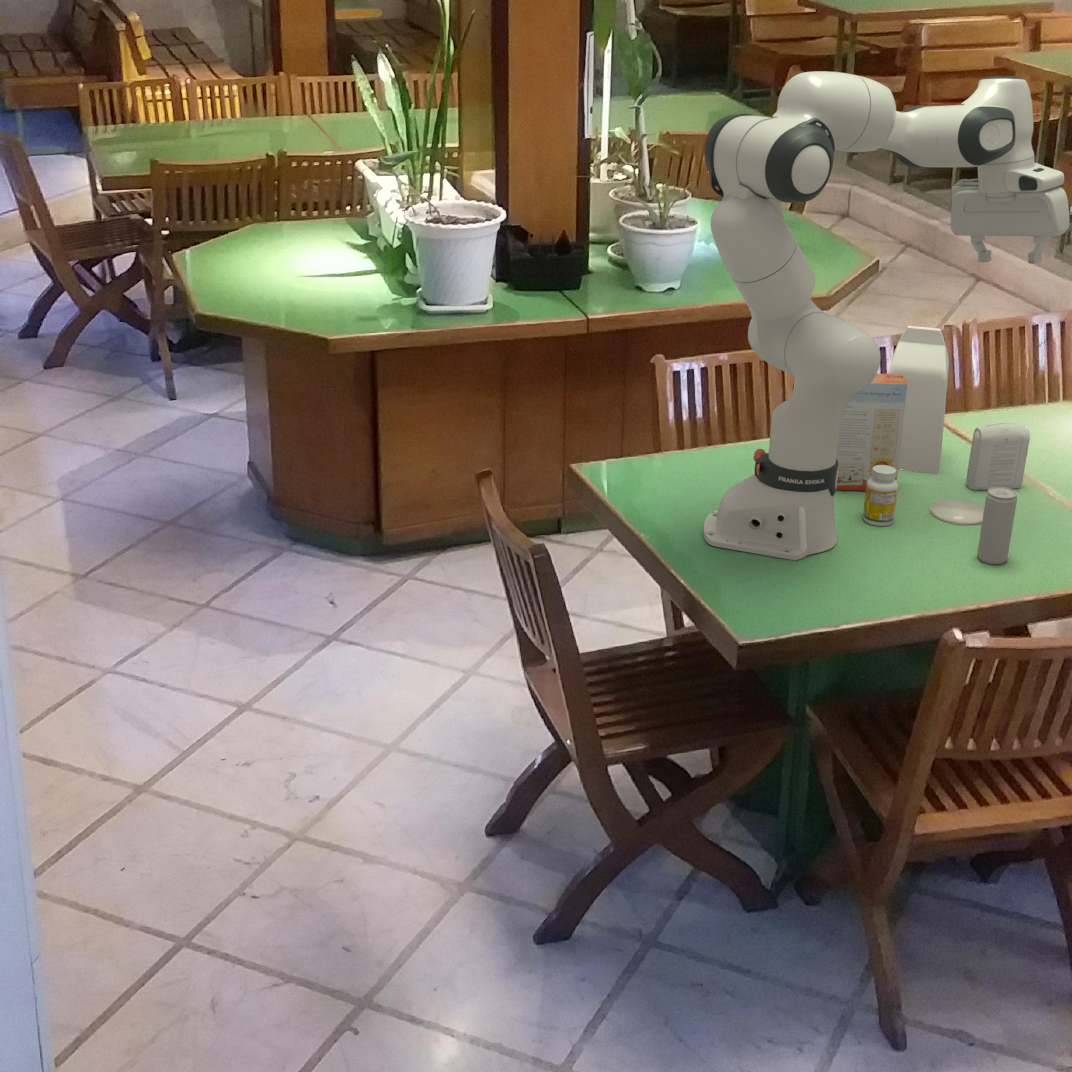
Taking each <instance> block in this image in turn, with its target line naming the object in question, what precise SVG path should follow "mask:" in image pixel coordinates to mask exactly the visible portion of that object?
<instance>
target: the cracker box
mask: <svg viewBox="0 0 1072 1072" xmlns="http://www.w3.org/2000/svg"><path fill="white" fill-rule="evenodd" d="M906 391H907V382H906V380H905V378H904V376H903V374H888V373H877V374H876V376H875V378H874V379H873V381H872V382H871V383H870V384H869V385H868V386H867V387H866V388H865V389H864V390H862V391H860V392H858V393H856V394H855V395H854V396H853V397H852V398H851V400H850V401H849V403H848V405H847V407H846V409H845V411H844V414H843V417H842V420H841V425H840V432H839V439H838V447H837V456H836V459H837V460H838V468H839V469H838V480H837V488H836V491H856V492H857V491H862V492H866V485H867V481H868V480H869V479H870V478H871V477H872V468H873V467H874V466H876V465H887V466H891V467H893V468H895V469H896V477H895V480H896V481H897V478H898V471H899V470H898V462H899V454H900V445H901V436H902V427H903V418H904V409H905V400H906Z"/></svg>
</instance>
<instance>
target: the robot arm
mask: <svg viewBox="0 0 1072 1072" xmlns="http://www.w3.org/2000/svg"><path fill="white" fill-rule="evenodd" d="M1033 110H1034V109H1033V101H1032V95H1031V90H1030V86H1029V83H1028V82H1027V80H1026V79H1024V78H1022V77H1021V76H1014V75H1013V76H1012V75H1006V76H1005V75H996V76H995V75H993V76H986V77H984V78H981V79H980V80H979V81H978V84H977V88H976V89H975V91H974V92H973V93H972V94H971V95H970V96H969V97H968V98H967V99H965V100H964V101H963V102H960V104H955V105H953V104H952V105H920V104H919V105H915V106H911V107H909V108H907V109H904V110H901V111H898V110H897V105H896V100H895V97H894V95H893V92H892V91H891V89H890V88H889V87H888V86H886V85H885V84H882V83H880V82H878V81H876V80H874V79H871V78H868V77H865V76H861V75H856V74H852V73H848V72H847V73H846V72H839V71H828V70H827V71H824V70H822V71H821V70H820V71H819V70H818V71H815V70H814V71H806V72H801V73H798V74H796V75H793V77H791V78H790V79H789V80H788V81H787V82H786V83H785V84H784V85H783V87H782V89H781V91H780V93H779V96H778V99H777V107H776V112H774V114H772V117H770V116H763V115H762V116H761V115H754V114H751V113H747V112H746V113H745V112H744V113H743V112H742V113H741V112H740V113H733V114H729V115H726V116H724V117H722V118H719V119H718V120H717V121H716V122H715V123H714V124H712V126H711V128H709V131H708V132H707V135H706V138H705V141H704V161H705V165H706V169H707V171H708V174H709V175H710V176H709V177H710V179H709V180H710V181H709V182H710V186H711V188H712V190H713V191H714V192H715V193H716V194H717V195H718V196H720V197H722V199H721V201H720V202H719V203H718V204H717V205H716V207H715V208H714V210H712V211H713V212H712V214H711V218H710V230H711V234H712V237H713V241H714V243H715V247H716V249H717V251H718V253H719V255H720V258H721V260H722V263H723V265H724V268H726V270H727V272H728V274H729V276H730V278H731V279H732V281H733V282H734V284H735V286H736V288H737V290H738V292H739V293H740V294H741V297H742V299H743V300H744V302H745V304H746V305H747V307H748V309H749V312H750V315H751V319H750V322H749V324H748V330H747V340H748V343H749V346H750V348H751V350H753V351H754V352H755V353H756V355H758V356H759V357H760V358H761V359H762V360H763V361H765V362H766V363H767V364H769V365H770V366H772V367H773V368H775V369H778V370H781V371H782V372H784V373H787V374H789V375H791V376H792V377H794V378H793V379H794V388H793V391H792V393H791V396H790V398H789V399H787V400H785V401H783V402H782V403H780V404H779V405H777V406H776V407H775V409H774V410H773V411H772V414H771V418H770V419H771V420H770V428H769V429H770V430H769V431H770V433H769V444H768V452H767V453H766V451H765V449H763V448H757V449H756V450H755V451H754V453H753V461H754V462H755V464H754V474H752V475H750V476H749V477H747V478H745V479H744V480H741V481H740V482H738V483H736V484H733V486H731V487H729V488H728V489H727V490H726V491H725V493H723V496H722V498H721V500H720V502H719V505H718V509H716V510H713V511H712V512H710V513H709V514H708V515H707V516H706V518H705V520H704V522H703V523H704V524H703V529H702V536H703V538H704V540H705V541H706V542H707V543H708V544H709V545H710V546H713V547H716V548H723V549H728V550H734V551H738V552H739V551H740V552H746V553H751V554H757V555H761V556H767V557H774V558H780V559H784V560H790V561H796V560H801V559H803V558H805V557H807V556H809V555H813V554H818V553H821V552H826V551H828V550H831V549H832V548H833V547H835V546H836V545H837V543H838V541H839V537H838V531H837V528H836V526H837V525H836V519H835V505H834V503H835V502H834V500H835V494H836V491H837V490H836V488H837V480H838V469H839V468H838V460H837V459H836V456H837V447H838V439H839V432H840V425H841V420H842V417H843V414H844V411H845V409H846V407H847V405H848V403H849V401H850V400H851V398H852V397H853V396H854V395H855V394H856V393H858V392H860V391H862V390H864V389H865V388H866V387H867V386H868V385H869V384H870V383H871V382H872V381H873V379H874V378H875V376H876V374H878V372H879V368H880V365H881V349H880V347H879V345H878V343H877V342H876V340H875V339H874V338H873V337H872V336H870V335H869V334H868V333H867V332H865V331H864V330H863V329H861V328H860V327H859V326H858V325H856V324H854V323H851V322H849V321H846V320H844V319H841V318H838V317H835V316H834V315H831V314H829V313H826V312H824V311H823V310H822V309H820V307H818V306H817V305H816V304H815V303H814V301H813V300H812V297H811V295H812V293H813V291H814V288H815V285H816V277H815V272H813V270H812V268H811V265H810V264H809V262H808V260H807V258H806V255H804V252H803V250H802V249H801V247H800V245H799V243H798V240H797V239H796V238H795V236H794V234H793V231H791V228H790V227H789V226H788V224H787V223H786V221H785V218H784V213H783V205H782V202H783V203H786V204H787V203H789V204H797V203H798V204H799V203H805V202H806V203H807V202H810V201H812V200H813V199H815V198H816V197H818V196H819V195H820V194H821V193H822V192H823V190H824V188H825V187H826V185H827V183H828V181H829V180H830V177H831V174H832V171H833V167H834V160H835V159H834V158H835V152H836V151H838V152H839V151H840V152H847V153H863V152H865V153H867V152H874V151H877V150H883V151H886V152H888V153H891V155H892V156H895V157H896V159H898V160H899V161H900V162H901V163H902V164H904V165H905V166H907V167H909V168H911V169H915V170H920V169H922V170H923V169H931V168H975V167H977V178H971V179H967V178H964V179H963V178H962V179H958V181H957V182H956V183H954V185H953V186H952V188H951V201H952V202H951V208H950V209H951V210H950V230H951V232H952V233H953V235H954V236H957V237H958V236H959V237H960V236H961V237H963V236H965V237H966V236H968V237H969V236H970V243H971V244H972V247H973V248H974V250H975V252H977V262H978V263H989V262H991V261H992V256H991V255H992V250H988V249H987V248H986V245H985V243H984V242H983V241H984V240H986V237H1033V238H1032V239H1033V244H1035V246H1034V248H1033V251H1031V252H1028V253H1027V258H1028V259H1027V262H1028V264H1033V265H1034V264H1036V265H1038V264H1041V263H1042V261H1043V251H1044V249H1045V247H1046V246H1047V244H1048V242H1049V237H1057V236H1060V235H1063V234H1065V233H1066V232H1067V230H1068V229H1069V227H1070V207H1069V201H1068V196H1067V193H1066V191H1065V189H1064V188H1063V187H1061V186H1062V185H1063V184H1064V183H1065V174H1064V172H1063V171H1060V170H1058V169H1054V168H1051V167H1049V166H1045V165H1043V164H1040V163H1038V162H1035V161H1036V160H1035V152H1034V149H1033V145H1032V138H1033V133H1034V112H1033ZM717 188H718V189H717Z"/></svg>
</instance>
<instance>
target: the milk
mask: <svg viewBox="0 0 1072 1072" xmlns="http://www.w3.org/2000/svg"><path fill="white" fill-rule="evenodd" d="M902 333H903V334H902V335H901V336H900V337H899V340H898V342H897V345H896V347H895V349H894V352H893V354H892V357H891V362H890V365H889V369H888V372H887V374H903V376H904V378H905V380H906V382H907V391H906V400H905V409H904V418H903V427H902V436H901V445H900V454H899V462H898V469H903V470H908V471H907V472H912V471H917V472H916V473H920V472H922V474H929V473H930V475H939V474H940V473H939V472H940V466H941V460H940V459H941V458H942V451H943V438H944V437H943V436H944V426H945V417H946V406H947V405H946V403H947V391H948V382H949V381H948V380H949V367H950V360H949V359H950V358H949V354H948V349H947V346H946V341H945V340H944V339H945V337H944V336H943V332H942V329H941V328H937V327H927V326H925V327H924V326H913V325H907V327H906V328H905V330H904V331H903V332H902ZM903 470H902V471H903Z"/></svg>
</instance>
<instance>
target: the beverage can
mask: <svg viewBox="0 0 1072 1072" xmlns="http://www.w3.org/2000/svg"><path fill="white" fill-rule="evenodd" d="M1017 495H1018V492H1017V491H1016V490H1015V489H1013V488H1012V489H1010V488H1006V487H992V488H989V489H987V492H986V496H985V500H984V505H983V506H984V513H983V520H982V523H981V526H980V533H979V540H978V547H977V553H976V556H977V557H978V559H979V560H980V561H981V562H983V563H985V564H989V565H992V566H993V565H997V566H998V565H1002V564H1004V563H1005V562H1007V560H1008V558H1009V557H1008V556H1009V552H1010V545H1011V540H1012V534H1013V533H1012V532H1013V527H1014V520H1015V516H1016V515H1015V514H1016V510H1017V504H1018V502H1017V501H1018V496H1017Z"/></svg>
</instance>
